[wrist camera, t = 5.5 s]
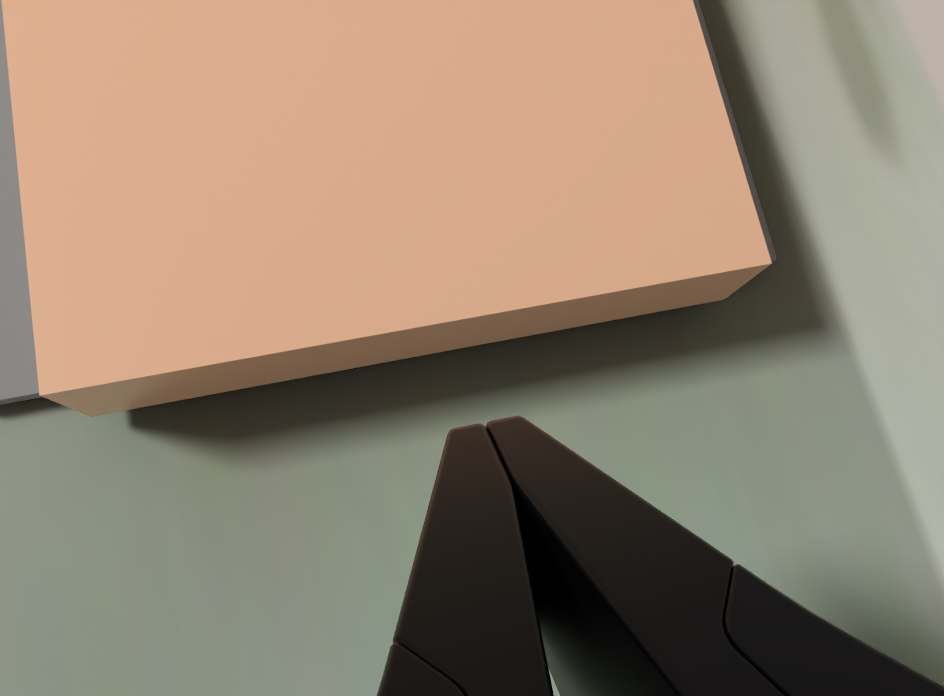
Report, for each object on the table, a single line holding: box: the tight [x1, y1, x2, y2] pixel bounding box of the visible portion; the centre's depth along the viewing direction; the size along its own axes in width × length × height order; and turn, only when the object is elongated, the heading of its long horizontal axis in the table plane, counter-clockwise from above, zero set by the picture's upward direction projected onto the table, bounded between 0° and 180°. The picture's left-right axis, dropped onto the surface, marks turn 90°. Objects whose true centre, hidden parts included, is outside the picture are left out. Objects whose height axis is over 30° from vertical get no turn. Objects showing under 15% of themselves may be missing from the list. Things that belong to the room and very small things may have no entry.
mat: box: [0, 0, 777, 405], centre depth 19 cm, size 12×18×1 cm, turn 102°
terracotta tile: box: [1, 0, 772, 417], centre depth 18 cm, size 2×14×10 cm
